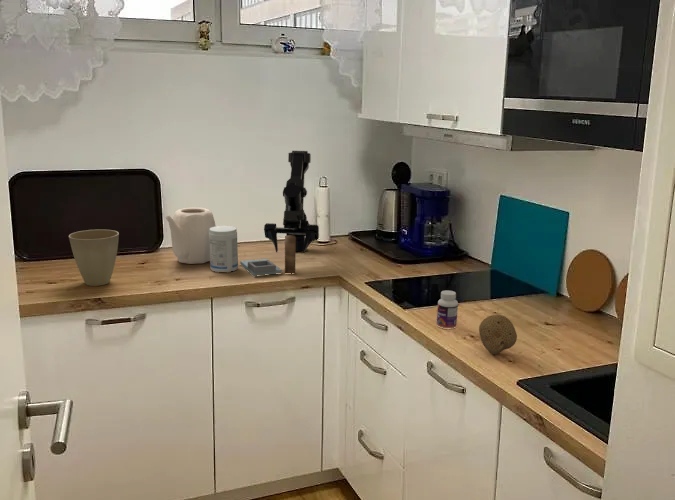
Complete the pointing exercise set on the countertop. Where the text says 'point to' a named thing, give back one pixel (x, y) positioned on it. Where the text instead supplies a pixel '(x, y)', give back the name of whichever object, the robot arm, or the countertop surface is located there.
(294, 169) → the robot arm
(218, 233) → the supplement tub
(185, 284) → the countertop surface
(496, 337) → the natural sponge
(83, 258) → the plant pot
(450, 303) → the pill bottle
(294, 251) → the stool leg
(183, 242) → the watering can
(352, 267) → the countertop surface
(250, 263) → the seat board
